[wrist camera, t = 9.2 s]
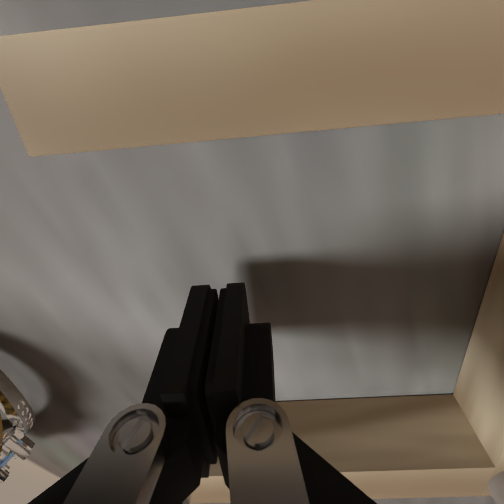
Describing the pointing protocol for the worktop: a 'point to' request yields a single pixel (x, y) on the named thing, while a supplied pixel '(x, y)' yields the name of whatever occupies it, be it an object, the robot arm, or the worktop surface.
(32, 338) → the worktop surface
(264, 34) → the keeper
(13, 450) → the ring
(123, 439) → the robot arm
